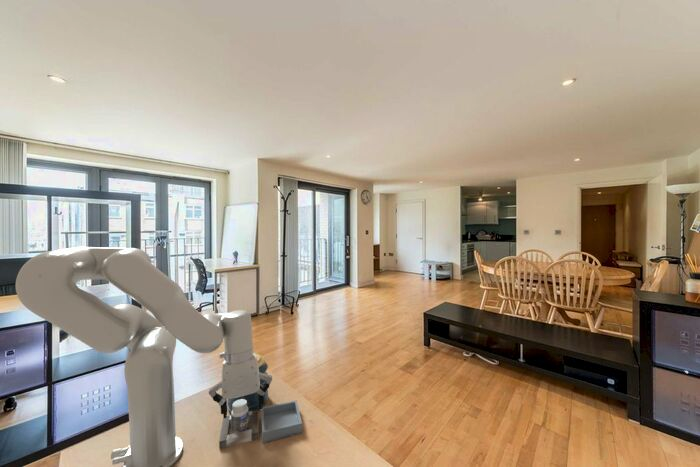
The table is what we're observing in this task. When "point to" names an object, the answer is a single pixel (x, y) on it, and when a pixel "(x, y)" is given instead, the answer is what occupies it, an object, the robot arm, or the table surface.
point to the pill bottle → (239, 416)
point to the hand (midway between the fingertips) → (243, 410)
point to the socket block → (240, 436)
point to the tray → (280, 421)
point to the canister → (253, 398)
